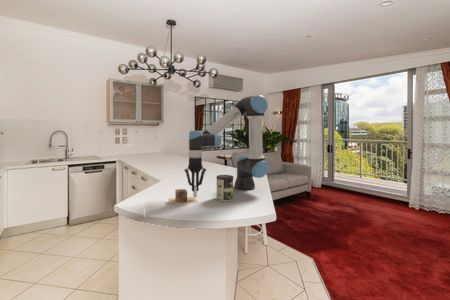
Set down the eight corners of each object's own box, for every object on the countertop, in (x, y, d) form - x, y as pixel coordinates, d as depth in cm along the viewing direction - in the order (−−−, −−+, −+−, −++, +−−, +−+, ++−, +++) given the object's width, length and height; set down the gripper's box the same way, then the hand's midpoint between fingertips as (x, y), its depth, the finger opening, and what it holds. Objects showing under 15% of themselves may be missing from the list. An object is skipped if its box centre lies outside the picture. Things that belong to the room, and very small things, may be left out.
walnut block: (185, 198, 141) (185, 189, 141) (187, 201, 136) (187, 191, 135) (175, 199, 139) (175, 189, 139) (176, 202, 134) (176, 192, 133)
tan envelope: (194, 197, 146) (194, 196, 146) (198, 203, 135) (198, 202, 135) (168, 199, 141) (168, 198, 141) (169, 205, 130) (169, 204, 130)
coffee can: (234, 197, 148) (234, 175, 147) (231, 202, 138) (231, 178, 137) (218, 196, 150) (218, 174, 149) (214, 200, 140) (214, 177, 139)
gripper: (204, 156, 143) (204, 194, 145) (183, 156, 139) (183, 195, 141) (207, 157, 136) (207, 197, 138) (185, 158, 132) (185, 199, 134)
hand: (195, 196), depth 140 cm, fingers closed
